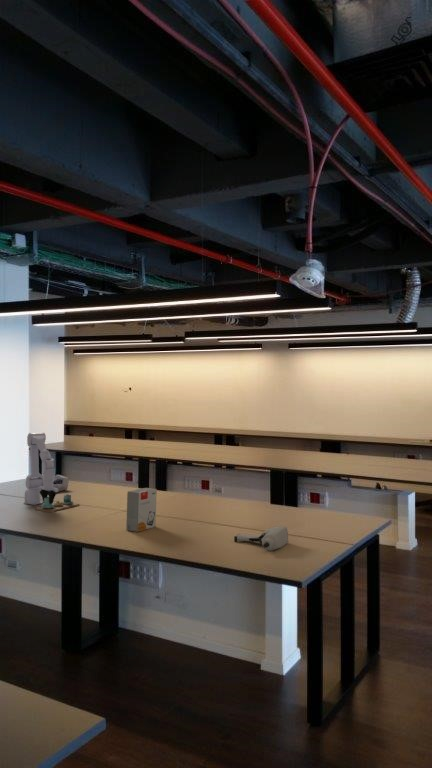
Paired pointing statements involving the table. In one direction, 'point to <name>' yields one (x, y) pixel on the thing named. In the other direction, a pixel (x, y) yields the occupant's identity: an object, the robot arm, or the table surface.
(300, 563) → the table surface
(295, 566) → the table surface
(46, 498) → the gear
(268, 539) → the impact wrench
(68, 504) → the gear carrier
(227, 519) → the table surface
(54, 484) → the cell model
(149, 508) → the hard drive box
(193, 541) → the table surface
